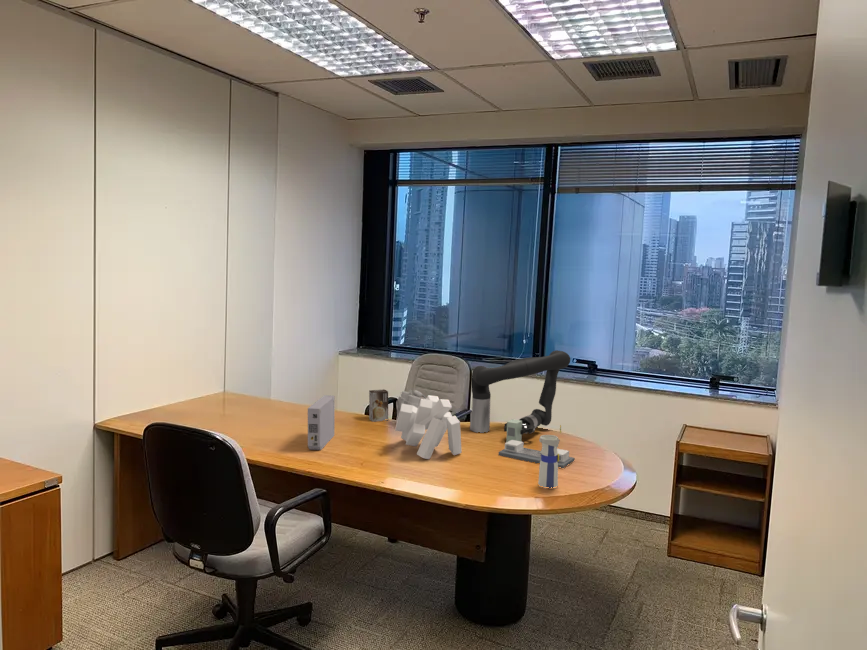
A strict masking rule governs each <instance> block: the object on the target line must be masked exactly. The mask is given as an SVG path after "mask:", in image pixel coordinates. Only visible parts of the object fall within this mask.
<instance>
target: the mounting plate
mask: <svg viewBox="0 0 867 650" xmlns="http://www.w3.org/2000/svg"><path fill="white" fill-rule="evenodd" d="M524 448H525V447H523V449H521V450H520V451H518V452H513V451H508V450H505V448H503V449H504V451H507V452H512V453H516V454H521V455H526V456H531V457H536V458H541V453H540V452H539V451H540V450H538V451H534V450H535V449H533V450H529V449H530V448H528V449H524ZM569 459H570V458H568V459H566V460H565V461H563V462H562V461H558V462H560V463H565V462H567V461H568V460H569Z"/></svg>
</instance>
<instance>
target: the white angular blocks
mask: <svg viewBox="0 0 867 650" xmlns="http://www.w3.org/2000/svg"><path fill="white" fill-rule="evenodd" d="M420 399H421V400H420V403H419V407H418V408H417V407H415V406H413V405H407V404H402V405H401V408H400V412H399V416H398V419H397V418H396V419H397V421H396V424H395V429H394V430H395V432H401V435H400V436H401V437H400V439H402V440H403V441H405V446H411V447H412V446H413V447H418V445H419V443H420V442H421V443H420V445H419V448H418V450H417V452H416V455H417V456H418V457H421V458H423V459H426V460H430V459H431V458H432V455H433V453H434V450H435V448H438V446H439V444H440V442H441V441H442V439H443V437H444V435H445V433H446V432H447V441H448V442H447V445H448V450H449V451H450V453H451V455H454V456H456V455H459V454H460V455H461V454H462V451H463V450H462V437H461V436H462V434H461V421H460V420H459V419H458V417H457V416H456V415H452V413H451V412H450V410H452V408H453V405H452V403H451V401H450V399H446V398H442V399H441V398H440V399H439V396H437V395H431V394H430V395H427V396H426V399H425V398H421V397H420Z"/></svg>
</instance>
